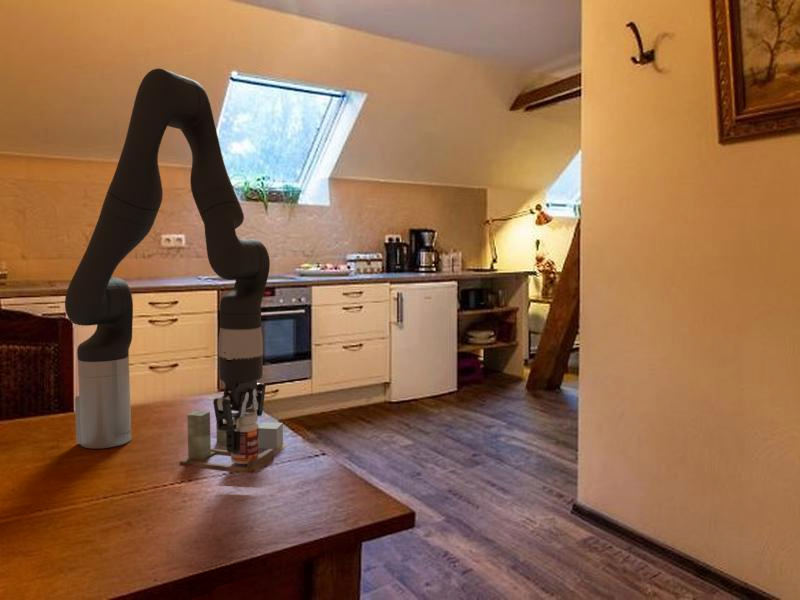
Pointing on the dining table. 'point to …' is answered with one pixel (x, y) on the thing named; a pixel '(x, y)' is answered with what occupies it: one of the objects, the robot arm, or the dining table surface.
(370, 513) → the dining table surface
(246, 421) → the pill bottle
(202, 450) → the open wooden frame
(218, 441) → the birch slat
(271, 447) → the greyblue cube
